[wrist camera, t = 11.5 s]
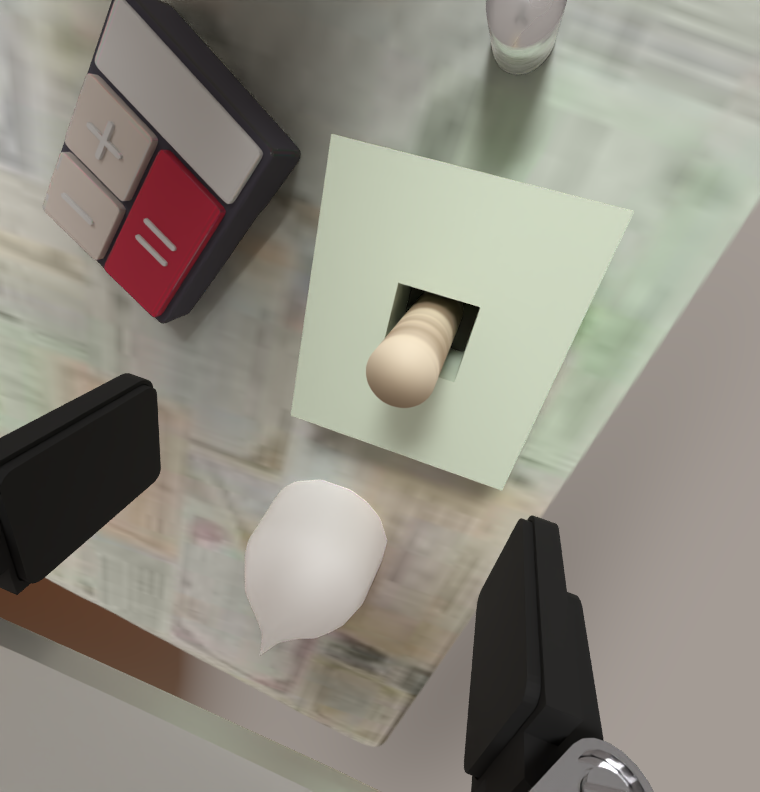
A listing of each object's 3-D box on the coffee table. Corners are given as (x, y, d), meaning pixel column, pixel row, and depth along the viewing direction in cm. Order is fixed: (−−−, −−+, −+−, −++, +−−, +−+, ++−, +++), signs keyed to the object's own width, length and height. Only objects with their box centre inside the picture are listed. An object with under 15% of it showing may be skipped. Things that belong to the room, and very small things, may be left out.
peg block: (363, 142, 25) (331, 133, 20) (611, 206, 23) (634, 211, 19) (320, 384, 32) (290, 415, 28) (503, 447, 31) (501, 490, 26)
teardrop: (280, 564, 43) (204, 686, 32) (263, 470, 38) (168, 578, 28) (389, 586, 40) (345, 728, 29) (385, 487, 35) (331, 615, 25)
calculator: (29, 208, 29) (104, -28, 21) (86, 203, 33) (167, 0, 25) (155, 330, 30) (268, 152, 23) (195, 312, 34) (305, 154, 26)
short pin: (504, -10, 20) (501, -62, 16) (568, 3, 20) (582, -48, 16) (483, 67, 22) (475, 38, 18) (542, 80, 22) (549, 54, 17)
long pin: (423, 280, 27) (374, 332, 18) (469, 294, 27) (445, 354, 17) (411, 324, 29) (359, 395, 19) (455, 338, 28) (424, 416, 19)
